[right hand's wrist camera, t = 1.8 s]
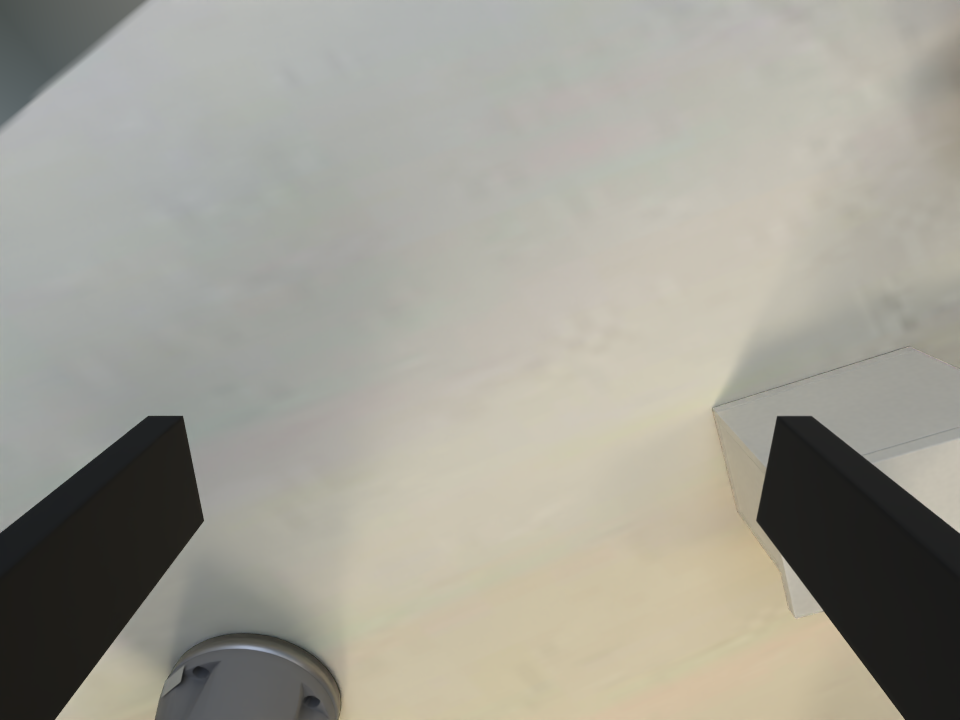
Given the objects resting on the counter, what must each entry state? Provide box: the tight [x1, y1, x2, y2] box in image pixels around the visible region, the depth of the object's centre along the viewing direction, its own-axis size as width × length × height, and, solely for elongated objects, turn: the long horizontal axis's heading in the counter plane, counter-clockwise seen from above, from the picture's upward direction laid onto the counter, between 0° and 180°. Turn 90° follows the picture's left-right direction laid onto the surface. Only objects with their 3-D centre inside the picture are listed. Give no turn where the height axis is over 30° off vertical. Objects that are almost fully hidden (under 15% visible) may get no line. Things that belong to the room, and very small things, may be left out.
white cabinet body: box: [712, 346, 960, 571], centre depth 37 cm, size 14×10×10 cm
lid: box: [762, 427, 960, 619], centre depth 29 cm, size 15×10×8 cm, turn 110°
